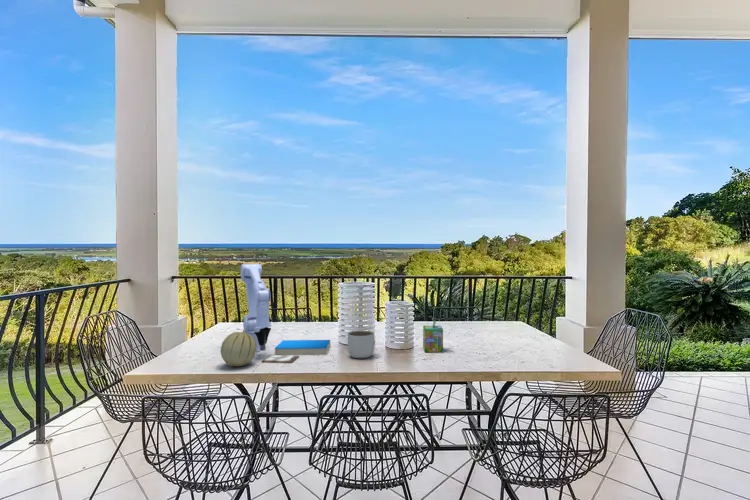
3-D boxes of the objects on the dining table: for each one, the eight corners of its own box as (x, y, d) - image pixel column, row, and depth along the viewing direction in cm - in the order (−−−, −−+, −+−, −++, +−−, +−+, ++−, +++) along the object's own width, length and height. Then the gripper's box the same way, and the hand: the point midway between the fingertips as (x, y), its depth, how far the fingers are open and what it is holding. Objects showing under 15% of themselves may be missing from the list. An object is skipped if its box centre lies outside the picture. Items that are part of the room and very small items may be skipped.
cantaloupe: (213, 370, 160) (213, 334, 160) (231, 360, 174) (231, 327, 174) (246, 371, 158) (246, 335, 158) (262, 361, 172) (262, 328, 172)
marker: (259, 350, 178) (259, 333, 178) (261, 349, 181) (261, 332, 181) (264, 350, 178) (264, 333, 178) (266, 349, 181) (266, 332, 181)
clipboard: (261, 362, 171) (261, 359, 171) (270, 356, 181) (270, 353, 181) (291, 363, 169) (291, 359, 169) (299, 357, 179) (298, 354, 179)
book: (326, 347, 183) (274, 347, 182) (326, 356, 183) (274, 356, 182) (330, 339, 200) (282, 339, 199) (330, 347, 200) (282, 347, 199)
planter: (374, 360, 173) (374, 335, 173) (347, 360, 173) (346, 336, 173) (374, 352, 185) (374, 330, 186) (348, 353, 185) (348, 330, 185)
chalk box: (422, 348, 194) (422, 318, 194) (441, 348, 194) (440, 318, 194) (424, 352, 185) (424, 322, 185) (443, 352, 184) (443, 322, 185)
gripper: (264, 318, 172) (264, 348, 172) (276, 313, 186) (276, 340, 186) (249, 318, 173) (249, 348, 173) (262, 312, 187) (262, 340, 187)
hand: (262, 344), depth 180 cm, fingers closed on marker, 2 cm apart
